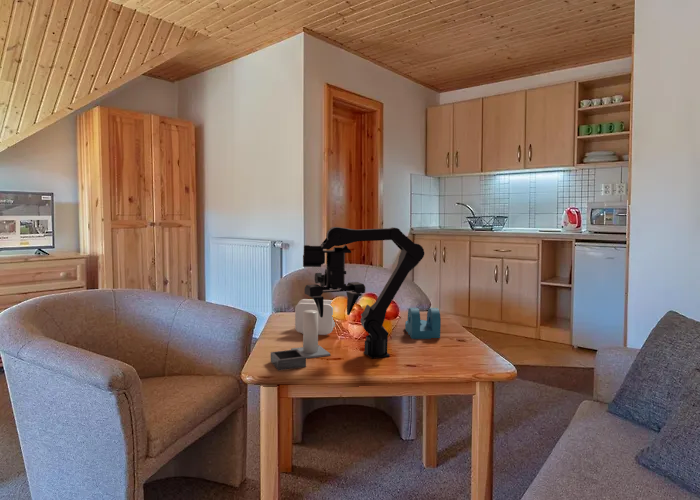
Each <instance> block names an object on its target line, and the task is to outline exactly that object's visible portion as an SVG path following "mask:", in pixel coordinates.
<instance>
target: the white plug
mask: <svg viewBox="0 0 700 500" xmlns="http://www.w3.org/2000/svg"><path fill="white" fill-rule="evenodd" d="M318 345H319V334H318V311H316V310H306V311H303V334H302V347H303V352H305V353H316V352H318Z"/></svg>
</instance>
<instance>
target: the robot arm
mask: <svg viewBox="0 0 700 500" xmlns="http://www.w3.org/2000/svg"><path fill="white" fill-rule="evenodd" d="M325 237H326V238H325V239H324V240H323V241H322V242H321V244H320V245H310V244H304V245H303V254H302V268H321V267H322V265H324V264H325V263H326V268H325V270H324V274H322V272H315V273H314V284H306V285H305V286H304V294H305V295H307V296H308V297H310V298H312V299H314V301H315V303H316V305H317V308H318V311H319V314H320V317H323V300H325V299H324V296H322V295H323V294H325V293H326V294H327V293H337V292H339V293H340V292H346V297H347V301H346V315H347V316H350V314H351V313H352V310H353V308H354V306H355V305H356V302H357V300H358V298H359V297H361V296H362V294H365V293H366V285H365V284H364V283H361V282H358V281H355V282H353V281H352V282H351V281H350V282H347V283H345V279H346V278H345V277H346V275H347V270H345V269H346V265H345V264H346V254H351V253H352V250H351V249H349V248H348V246H347V245H349V244H352V243H357V242H372V241H373V242H374V241H375V242H376V241H377V242H378V241H392V243H394V244H395V245H396V247H397V248H398V249H399V250H400V253H399V256H398V261H397V264H396V267H395V268H394V270H393V272H392V273H391V275H390V277H389V278H388V280H387V282H386V283H385V285H384V287H383V289H382V290H381V292H380V294H379V296H378V298H376V300H375V302H374V303H373V304H372V305H369V304H366V306H365V307H364V310H363V311H362V313H361V314H360V316H361V318H360V324H361V326H362V327H363V329H364V330H365V332H366V333H367V335H365V340H364V351H363V354H364V355H366V356H367V357H369V358H371V359H379V358H386V357H390V356H391V355H390V353H388V342H389V340H388V339H389V338H388V336H389V334H390V333H389V332H388V331H387V329H386V328H385V327H384V326H383V325H384V322H385V319H386V315H387V311H388V309H389V307H390V305H391V304H392V302H393V300H394V298H395V296H396V295H397V293H398V292H399V290H400V288H401V286H402V285H403V284H404V281H405V280H406V278H407V276H408V274H409V273H410V272H411V271H412V270H414V268H415V267H417V266H418V264H419V263H420V262H422V261H421V260H423V258H424V256H425V248H423V246H422V245H421V244H419V243H415V242H414V241H412V240H411V239H410V238H409V237H408V236H407V235H406V234H405V233H403V232H402V231H401V229H399V228H398V227H389V228H385V227H384V228H363V229H362V228H361V229H354V228H347V227H342V226H341V227H340V226H332V227H330V228H329V229H328V230H327V232H326V235H325ZM342 246H343V247H342ZM332 248H333V249H332ZM331 249H332V250H331Z"/></svg>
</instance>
